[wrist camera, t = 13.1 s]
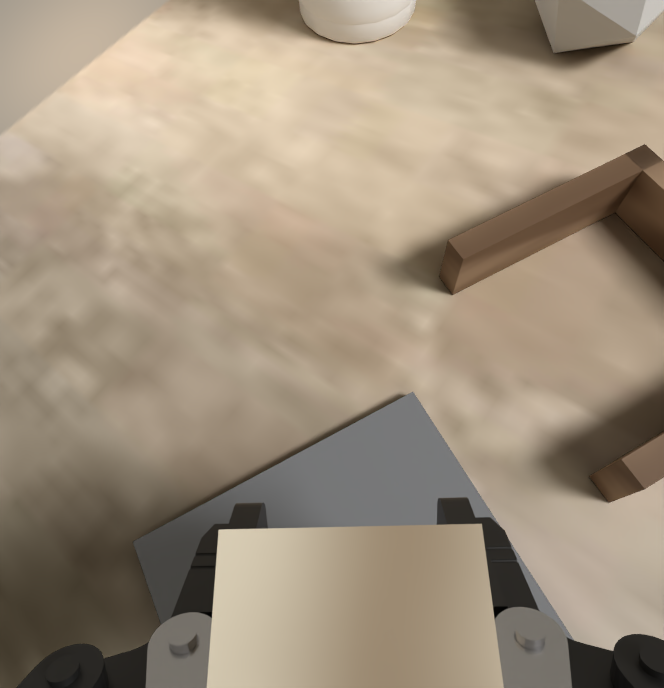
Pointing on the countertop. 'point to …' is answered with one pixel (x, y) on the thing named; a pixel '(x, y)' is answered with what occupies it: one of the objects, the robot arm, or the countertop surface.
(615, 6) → the die
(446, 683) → the ash block
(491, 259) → the stall
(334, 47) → the countertop surface
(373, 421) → the pad
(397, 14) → the bottle
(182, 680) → the robot arm
